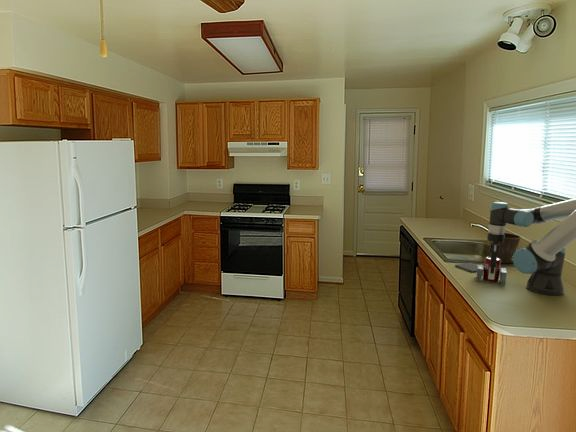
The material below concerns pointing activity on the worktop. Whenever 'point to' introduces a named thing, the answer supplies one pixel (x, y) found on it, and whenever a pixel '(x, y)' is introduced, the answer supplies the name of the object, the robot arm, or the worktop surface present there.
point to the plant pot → (508, 247)
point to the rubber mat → (468, 267)
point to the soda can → (486, 270)
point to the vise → (502, 274)
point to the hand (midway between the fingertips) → (490, 276)
